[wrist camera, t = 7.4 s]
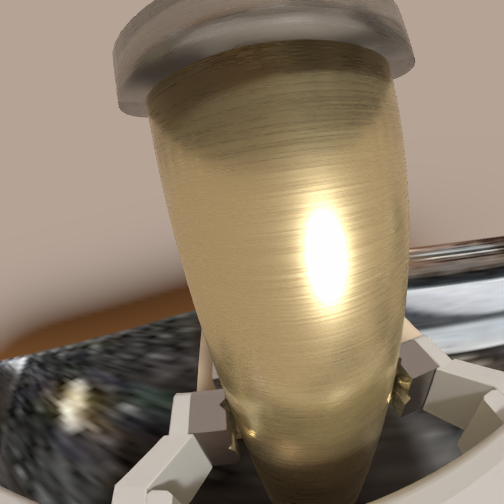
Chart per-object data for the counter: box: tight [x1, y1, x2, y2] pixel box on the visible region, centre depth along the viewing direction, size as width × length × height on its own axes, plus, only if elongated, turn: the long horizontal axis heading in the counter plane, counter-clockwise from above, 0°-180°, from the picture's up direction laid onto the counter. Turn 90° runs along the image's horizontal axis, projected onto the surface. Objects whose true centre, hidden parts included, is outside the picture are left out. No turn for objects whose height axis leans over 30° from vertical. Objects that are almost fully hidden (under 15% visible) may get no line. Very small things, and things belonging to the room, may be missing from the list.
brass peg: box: [113, 0, 415, 504], centre depth 8 cm, size 6×6×20 cm
